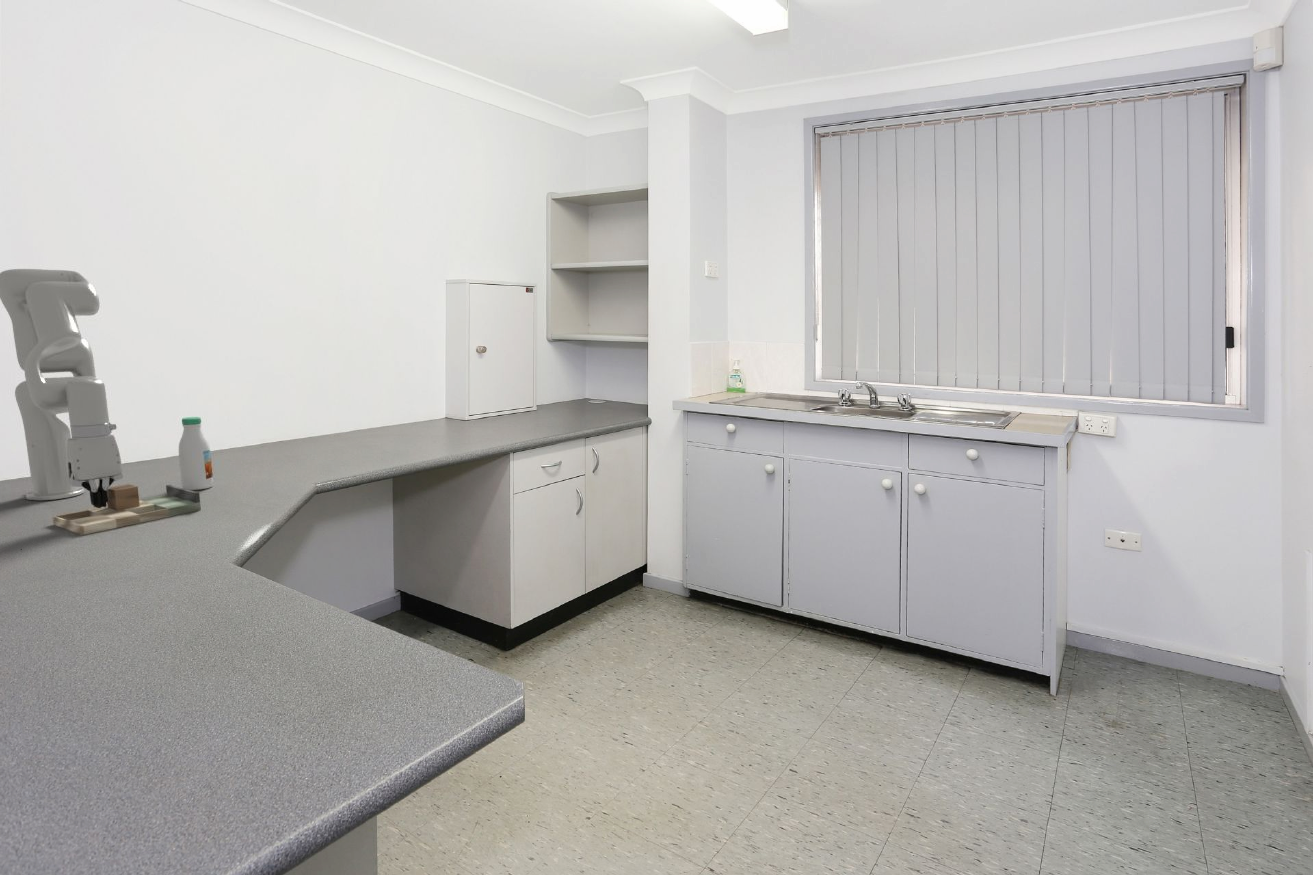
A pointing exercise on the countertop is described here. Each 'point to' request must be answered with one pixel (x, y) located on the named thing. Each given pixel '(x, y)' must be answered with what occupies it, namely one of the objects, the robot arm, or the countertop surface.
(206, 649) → the countertop surface
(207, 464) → the milk bottle
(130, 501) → the walnut block
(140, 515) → the trap board
